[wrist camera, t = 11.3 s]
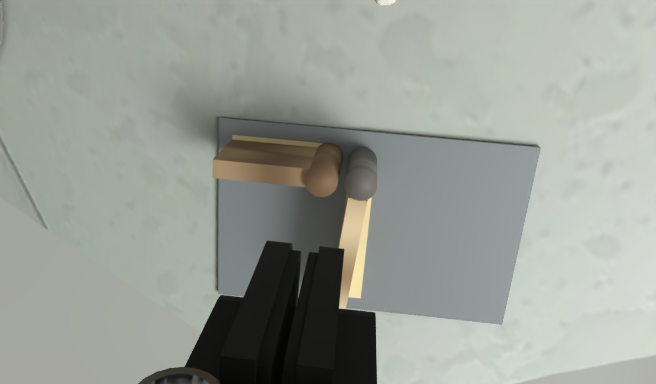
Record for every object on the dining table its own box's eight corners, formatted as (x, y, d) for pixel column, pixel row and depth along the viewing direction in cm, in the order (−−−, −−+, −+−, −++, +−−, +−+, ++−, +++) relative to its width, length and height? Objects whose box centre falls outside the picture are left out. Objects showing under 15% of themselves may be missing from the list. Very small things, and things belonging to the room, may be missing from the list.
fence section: (232, 160, 39) (211, 186, 34) (232, 133, 38) (210, 155, 33) (341, 171, 38) (336, 198, 33) (343, 143, 38) (339, 167, 33)
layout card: (219, 291, 43) (217, 294, 43) (219, 117, 38) (218, 118, 38) (501, 322, 42) (502, 325, 41) (539, 146, 37) (541, 148, 37)
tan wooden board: (350, 144, 37) (347, 166, 33) (379, 150, 37) (380, 172, 33) (323, 295, 41) (316, 333, 37) (349, 299, 41) (346, 339, 37)
